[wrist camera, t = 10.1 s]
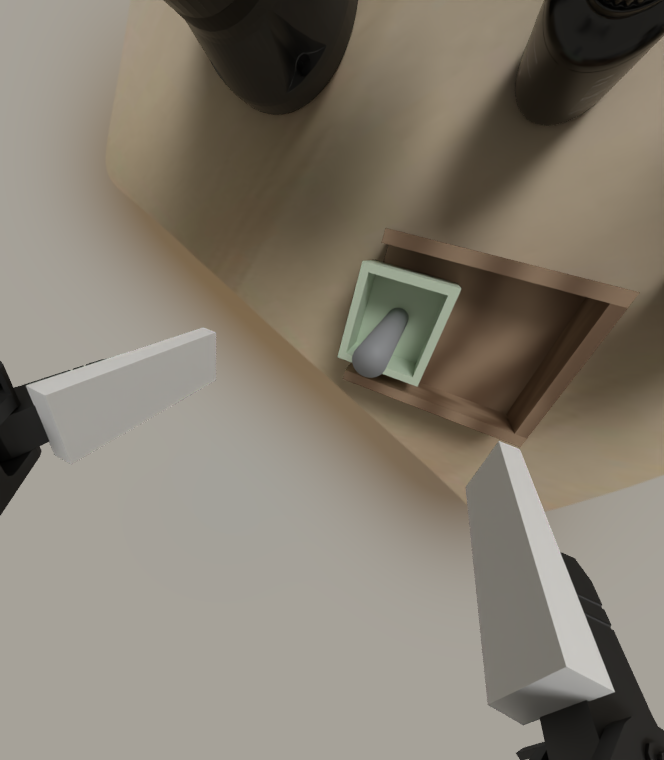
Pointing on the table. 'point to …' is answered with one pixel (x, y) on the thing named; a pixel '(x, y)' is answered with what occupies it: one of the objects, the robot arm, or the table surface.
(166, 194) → the table surface
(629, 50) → the supplement bottle
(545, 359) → the bay
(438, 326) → the green box with handle
